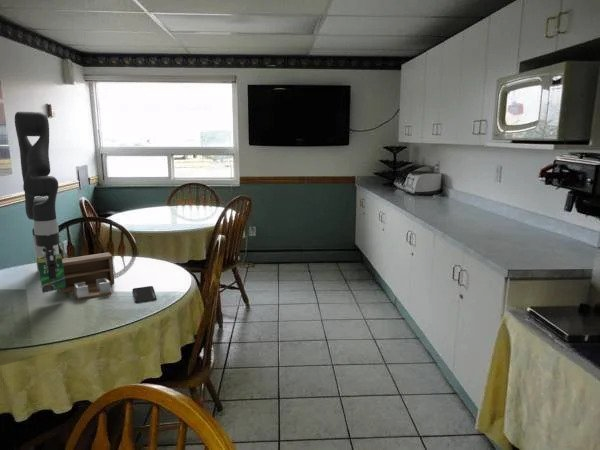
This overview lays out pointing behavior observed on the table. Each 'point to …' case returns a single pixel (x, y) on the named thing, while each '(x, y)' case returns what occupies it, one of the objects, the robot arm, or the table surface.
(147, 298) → the phone
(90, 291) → the walnut cabinet
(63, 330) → the table surface
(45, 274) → the coffee box
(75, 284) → the grey open rectangular frame
